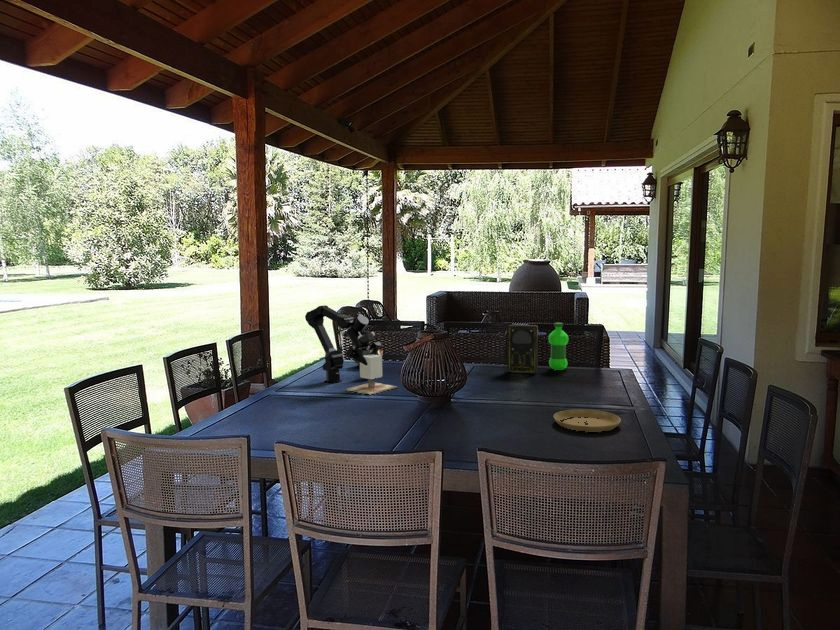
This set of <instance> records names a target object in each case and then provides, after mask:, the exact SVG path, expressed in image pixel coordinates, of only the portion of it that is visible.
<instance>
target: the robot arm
mask: <svg viewBox="0 0 840 630" xmlns="http://www.w3.org/2000/svg"><path fill="white" fill-rule="evenodd" d="M304 317H305V321H306V322H307V324H308V325H309V327H311V328H312V329H314V332H315V334H316V336H317V337H318V340H319V342H320V344H321V346H322V348H323V351H324V361H325V362H324V363H323V365H322V370H323V371H325V372H326V373H325V374H326V375H325V376H326V380H324V381H327V382H326V383H328V382H331V383H330V384H335V383H334V382H336V383H339V382H338V381H340V382H342V381H343V380H342V379H341V375H340V370H342V369H343V365H344V355H343V353H342V351H341V349H336V348H335V346H334V344H333V342H332V340H331V338H330V336H329V335H328V332H327V330H326V327H325V325H324V320H325V319H324V318H325V317H326V318H327V319H329V320H331V321H333V322H334V323H335V325H336V326H337V327H338V328H340V329H341V330H344V333H343V334H344V336H343V337H344V338H346V337H348V338H349V340H350V342H351V343H350V345H351V346H349V348H348V349H347V351H345V355H346V357H347V358H348V359H352V360H353V359H355V360H357V361H359V362H361V363H363V364H364V365H367V362H366V360H365V358H364V356H363V355H362V353H363V352H364V351H369V352H370V354H374V355H378V350H381V349H380V348H381V347H382V346H383V345H382V343H381V341H374V340H375V339H376V337H377V336H376V334H375V332H374V331H372V332H369V333H366V334H363V335H362V333H361V332H363V331H364V330H365V329H366V327H367V326H368V324H369V319H368V317H366V316H364V315H362V313H357V314H356V316H355V318H354V316H351V315H348V314H342V313H340V312H339V311H336V310H334V309H333V308H330V307H329V306H328V305H325V304H324V305H319V306H317V307H316V308H314V309H312V310H310V311H307V312H306V313H305V316H304ZM345 329H347V330H345ZM371 341H374V342H372V343H371ZM370 344H371V345H370Z"/></svg>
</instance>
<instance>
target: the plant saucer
mask: <svg viewBox="0 0 840 630" xmlns="http://www.w3.org/2000/svg"><path fill="white" fill-rule="evenodd" d="M570 417H574V418H572V419H567V418H570ZM578 417H581V418H578ZM584 417H588V418H584ZM553 418H554V421H555V422H556V423H557V424H558V425H559V426H561V428H563V427H564V429H566V428H567V430H569V429H571V430H570V431H572V430H576V431H575V432H578V431H585V432H584V433H588V432H598V433H603V432H602V431H606V432H608V431H612V430H614V429H615V428H616V427H618V426H619V424H620V423H621V421H622V419H621V418H620V417H619V416H618V414H617V415H616V414H614V413H611V412H607V411H603V410H598V409H597V410H595V409H567V410H561V411H557V412H556V413H554V414H553ZM597 418H599V419H597ZM563 419H567V420H564V421H563V422H561V421H560V420H563ZM586 421H587V422H586ZM578 422H579V423H578ZM584 422H586V423H588V425H585V423H584Z"/></svg>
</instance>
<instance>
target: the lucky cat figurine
mask: <svg viewBox="0 0 840 630" xmlns="http://www.w3.org/2000/svg"><path fill="white" fill-rule="evenodd" d="M383 353H384V350H383V349H379V350H378V355H380V356H382V357H383ZM369 354H370V352H369V351H364V352H362V355H363V356H364V355H369ZM352 361H353V362H354V363H356V365H358V366H359V367H360V362H359V361H357V360H355V359H352Z"/></svg>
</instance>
